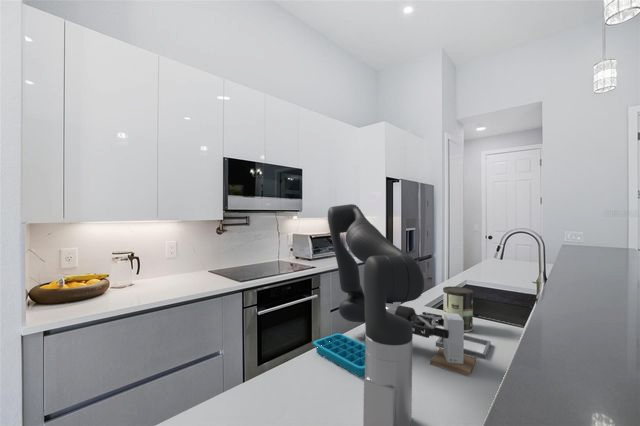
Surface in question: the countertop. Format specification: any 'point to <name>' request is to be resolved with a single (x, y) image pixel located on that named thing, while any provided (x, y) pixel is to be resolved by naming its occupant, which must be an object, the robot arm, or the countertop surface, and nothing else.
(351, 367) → the ice cube tray
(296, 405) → the countertop surface
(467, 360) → the walnut board
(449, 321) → the skincare box
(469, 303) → the coffee can
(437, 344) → the grey flat rectangular frame
